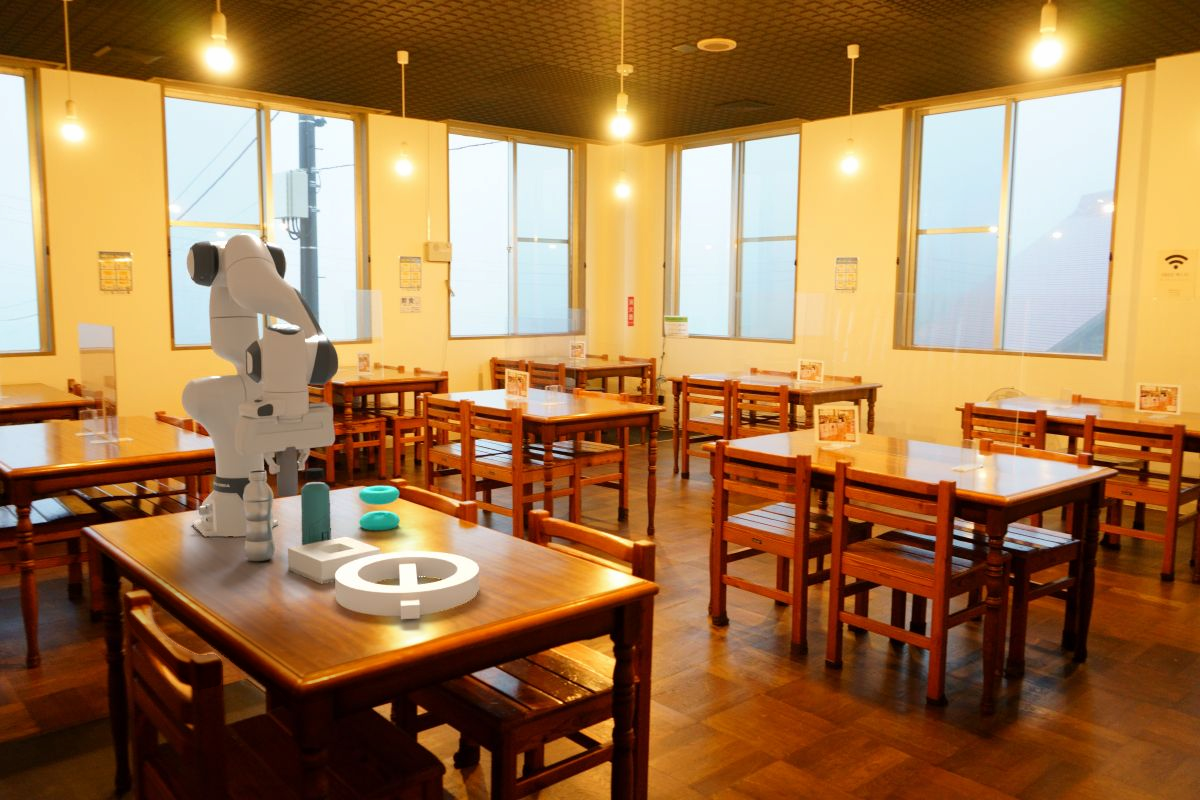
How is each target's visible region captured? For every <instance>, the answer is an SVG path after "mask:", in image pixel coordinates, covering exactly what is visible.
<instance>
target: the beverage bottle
mask: <svg viewBox="0 0 1200 800" xmlns="http://www.w3.org/2000/svg"><path fill="white" fill-rule="evenodd" d="M304 476H305V479H306V480H309V481H310V480H311V482H307V483H305V484H304V485H303V486H302V487H301V488H300V493H301V494H300V497H301V498H300V500H301V501H300V503H301V536H300V537H301V545H306V544H311V543H316V542H321V541H326V540H331V539H332V528H331V498H330V497H331V496H330V489H331V488H330V486H329V485H328V484H326V483H325V482H323V481H322V482H321V481H313V480H323V479H324V478H325V471H324V468H320V467H311V468H307V469H306V470H305V475H304Z"/></svg>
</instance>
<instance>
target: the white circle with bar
mask: <svg viewBox="0 0 1200 800" xmlns="http://www.w3.org/2000/svg"><path fill="white" fill-rule="evenodd" d="M419 576H420V577H419ZM421 576H423V577H424V576H425V577H436V578H440V579H444V580H440V579H439V580H438V581H434V582H433V581H432V582H429V583H422V584H418V578H423V577H421ZM391 578H396V579H399V585H392V584H379V583H378V582H377V581H380V582H382V581H381V580H384V581H386V580H385V579H389V580H392V579H391ZM374 582H376V583H374ZM334 584H335V585H334V586H335V587H334V588H335V590H334V592H335V593H334V594H335V597H336V598H335V601H336V602H337V603H338V605H340V606H341V607H343V608H345V609H348V610H349V611H353V612H356V613H359V614H360V613H361V614H365V615H366V614H367V615H373V616H383V617H384V616H385V617H386V616H387V617H388V616H389V617H400V620H411V619H413V620H414V619H420V617H421V615H428V613H429V614H434V613H433V612H435V613H439V612H438V611H441V612H443V611H442V610H445V611H447V610H446V609H449V608H452V607H455V606H457V605H460V604H462V603H464V602H466V601H468V600H470V599H471V598H473V597H474V596H475V595H476V594H477V592H478V590H480V567H479V565H478V564H477V562H475V561H474V560H472V559H470V558H467V557H465V556H463V555H458V554H454V553H447V552H441V551H440V552H439V551H424V550H423V551H420V550H417V551H414V550H413V551H412V550H411V551H396V552H385V553H381V554H379V555H373V556H368V557H364V558H361V559H357V560H354V561H352V562H349V563H347V564H345V565H343V566H342V567H340V568H339V569H338V570H337V571H336V573H335V582H334ZM478 593H479V592H478ZM452 609H453V608H452ZM449 610H450V609H449Z"/></svg>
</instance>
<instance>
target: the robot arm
mask: <svg viewBox="0 0 1200 800" xmlns="http://www.w3.org/2000/svg"><path fill="white" fill-rule="evenodd" d="M186 269H187V272H188V274H189V276H190V278H191V281H192V282H194V284H196V285H199V286H203V287H206V288H207V287H208V288H210V293H209V301H208V303H209V307H208V309H209V310H208V313H209V334H210V347H211V349H212V351H213V353H215V355H216V356H217V357H219V358H221V359H223V360H225V361H227V362H229V363H232V364H233V366H234V367H235V369H236V373H237V374H225V375H224V374H223V375H208V376H204V377H199V378H195V379H190V380H189V381H188V382H187V383H186V385H185V386H184V388H183V390H182V393H181V405H182V407H183V410H184V411H185V413H186V414H187V415H188V416H189V418H190V419H192V420H194V421H195V422H197V423H198V424H200V425H201V427H203V428H204V429H205V430H206V432H207V433H208V436H209V437H210V439H211V442H212V445H213V449H214V456H215V470H216V472H215V473H216V474H215V475H213V478H214V479H213V484H212V489H213V490H212V492H210V494H209V495H208V496H207V497H206V498H205V499H204V500H202V501H203V502H202V504H201V505H200V506H199V507H198V515H199V516H201V518H198V519H197V518H196V519H195V520H193V521H191V524H193V525H194V526H195V527H196V528H197V529H198V530H199V531H200V532H201V533H202V534H201V533H200V532H199V531H198V530H197V529H196V528H195V527H194V526H193V525H192V526H193V527H194V528H195V529H196V530H197V531H198V532H199V533H200V534H201V535H202V536H203V535H204V536H203V537H207V536H209V537H228V536H233V537H246V527H247V524H246V521H247V520H246V512H245V506H244V500H243V494H244V491H245V489H246V488H247V486H248V485H249V483H250V481H249V472H250V471H253V470H265V466H264V465H265V462H266V464H267V465H268V471H269V474H271V475H277V474H278V473H280V470H279V469H280V465H277V463H276V462H275V461H274V459H273V458H275V457H276V456H275V454H276V452H279V451H285V450H286V447H295V448H296V449H297V450H298V453H299V454H300V456H299V457H298V458H297V472H299V471H300V472H301V471H306V470H305V469H306V461H307V459H308V458H309V456H310V454H311V449H312V448H313V449H314V448H320V447H321V448H322V447H330V446H333V444H334V443H335V441H336V434H335V425H334V420H333V419H334V408H333V406H332V405H330V404H329V403H327V402H326V401H320V402H310V401H309V397H310V395H309V393H310V392H309V386H308V385H315V386H316V385H317V386H319V385H320V386H324V385H325V384H327V383H328V382H330V380H332V378H334V377H335V375H336V374H337V372H338V370H339V358H338V352H337V349H336V347H335V346H334V345H333V343H332V342H331V341H330V340H329V338H328V337H327V336H326V334H325V333H324V331H323V330H322V328H321V326H320V324H319V322H318V321H317V319H316V317H315V315H314V313H313V312H312V310H311V308H310V306H309V305H308V302H307V301H306V299H305V297H304V295H303V294H302V293H301V291H299V290H298V289H296V288H295V287H293V286H292V285H290V284H289V283H288V282H286V281H285V280H284V278H285V275H286V271H287V259H286V256H285V253H284V251H283V249H282V248H281V246H279V245H277V243H276V244H275V243H272V242H268V241H263V240H262V239H261V238H260V237H258V236H257V235H255V234H251V233H245V232H243V233H239V234H235V235H233V236H232V237H230V238H229V239H228V240H223V241H222V240H221V241H220V240H219V241H209V240H205V241H204V240H203V241H198V242H195V243H194V244H193V245H192V246H190V248H189V251H188V253H187V257H186ZM258 315H265V316H269V317H274V318H278V319H280V320H282V321H285V322H287V323H273V324H269V325H267V326H265V327H264V330H263V335H262V336H263V337H262V338H261V339H260V331H259V321H258ZM264 460H265V461H264ZM267 480H268V479H267ZM267 480H266V482H267ZM271 525H272V528H273V527H276V526H277V525H279V521H278V519H275V518H274V513H273V509H272V518H271Z"/></svg>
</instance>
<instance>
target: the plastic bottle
mask: <svg viewBox="0 0 1200 800" xmlns="http://www.w3.org/2000/svg"><path fill="white" fill-rule="evenodd" d="M266 480H268V476H267V470H265V469H264V470H253V471H250V472H249V481H250V483H249V485H248V486H247V488H246V489H245V491H244V494H243V500H244V506H245V512H246V520H247V521H246V524H247V527H246V536H245V540H244V547H243V551H244V556H245V558H246V559H247V560H248V561H252V562H263V561H267V560H268V561H269V560H271V559H272V558H273V556H274V555H275V552H276V546H275V540H274V537H273V527H272V525H271V518H272V510H273V503H274V492H273V489H272V488H271V487H270V485H269V484H268V483H267V481H266Z"/></svg>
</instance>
